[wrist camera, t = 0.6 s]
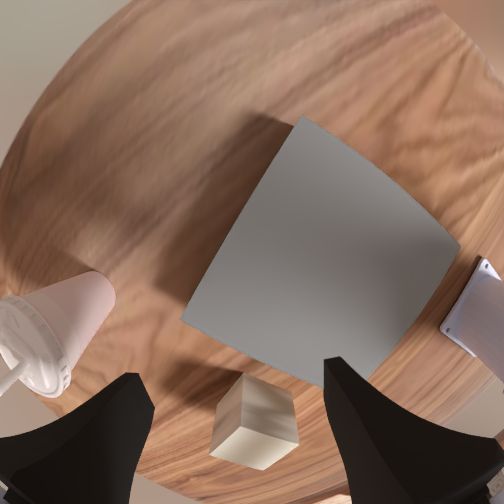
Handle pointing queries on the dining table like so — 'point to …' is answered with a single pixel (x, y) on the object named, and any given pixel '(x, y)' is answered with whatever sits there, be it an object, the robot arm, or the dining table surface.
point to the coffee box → (495, 485)
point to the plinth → (321, 262)
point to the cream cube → (254, 424)
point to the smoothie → (52, 330)
